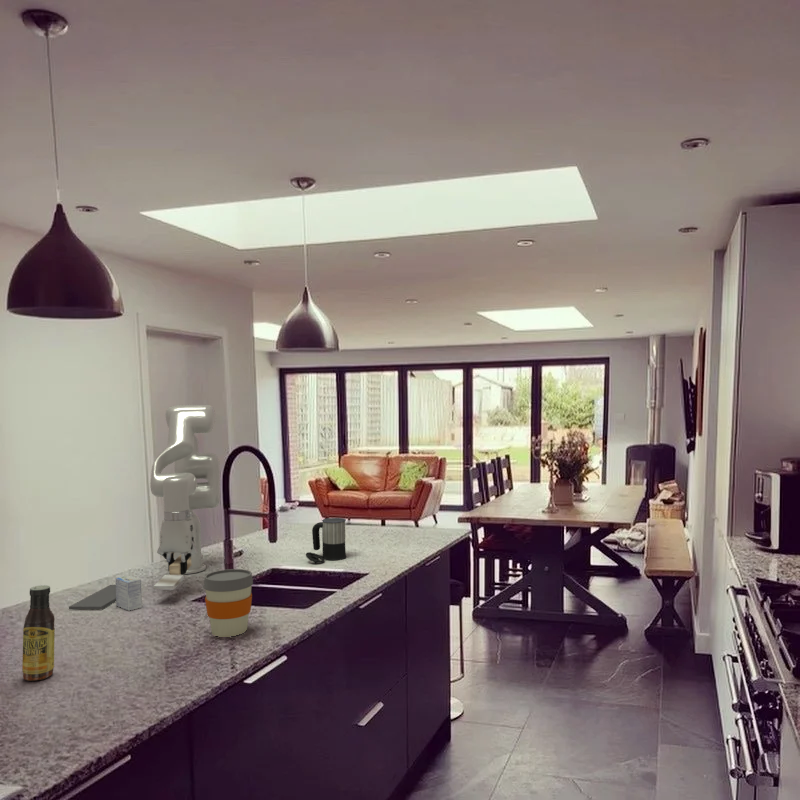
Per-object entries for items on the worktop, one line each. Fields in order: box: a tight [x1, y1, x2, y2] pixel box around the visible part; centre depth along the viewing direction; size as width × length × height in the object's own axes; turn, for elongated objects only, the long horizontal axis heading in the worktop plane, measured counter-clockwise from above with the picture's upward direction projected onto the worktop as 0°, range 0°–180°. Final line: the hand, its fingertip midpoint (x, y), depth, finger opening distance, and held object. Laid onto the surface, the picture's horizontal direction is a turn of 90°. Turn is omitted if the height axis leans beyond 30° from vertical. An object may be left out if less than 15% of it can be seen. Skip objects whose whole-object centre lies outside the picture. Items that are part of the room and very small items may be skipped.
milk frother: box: [305, 517, 347, 564], centre depth 257 cm, size 14×16×15 cm
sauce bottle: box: [21, 584, 56, 682], centre depth 150 cm, size 6×6×20 cm
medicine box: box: [115, 574, 143, 612], centre depth 201 cm, size 8×4×9 cm, turn 48°
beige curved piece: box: [153, 555, 192, 591], centre depth 211 cm, size 18×6×4 cm, turn 175°
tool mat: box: [68, 584, 116, 610], centre depth 211 cm, size 24×10×1 cm, turn 175°
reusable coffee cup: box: [203, 568, 254, 638], centre depth 177 cm, size 13×13×15 cm
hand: (178, 573), depth 213 cm, fingers closed on beige curved piece, 2 cm apart
